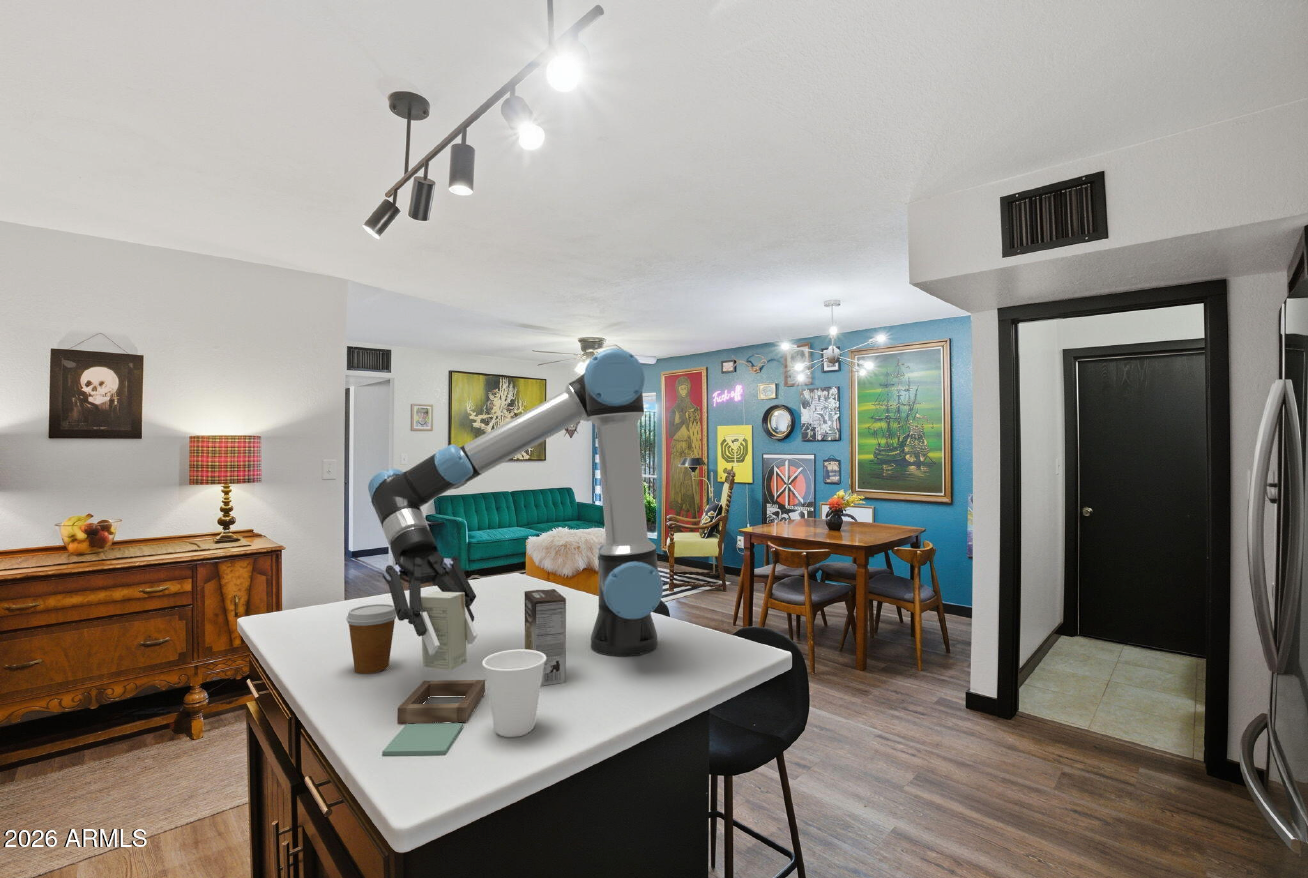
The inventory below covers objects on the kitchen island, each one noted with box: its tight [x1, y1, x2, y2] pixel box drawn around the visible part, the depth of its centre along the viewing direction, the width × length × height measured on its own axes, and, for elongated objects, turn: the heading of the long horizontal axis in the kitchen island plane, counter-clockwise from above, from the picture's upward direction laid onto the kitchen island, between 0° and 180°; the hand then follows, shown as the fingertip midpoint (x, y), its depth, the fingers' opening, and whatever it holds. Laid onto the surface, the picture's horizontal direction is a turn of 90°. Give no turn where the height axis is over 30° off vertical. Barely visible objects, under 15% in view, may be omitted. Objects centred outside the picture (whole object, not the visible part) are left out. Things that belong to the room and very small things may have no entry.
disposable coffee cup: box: [345, 603, 397, 675], centre depth 124 cm, size 10×10×12 cm
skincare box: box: [420, 591, 468, 671], centre depth 105 cm, size 6×4×12 cm
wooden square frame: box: [396, 679, 486, 725], centre depth 104 cm, size 11×12×2 cm
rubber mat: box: [381, 723, 464, 757], centre depth 92 cm, size 9×9×1 cm
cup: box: [481, 648, 546, 738], centre depth 96 cm, size 10×10×11 cm
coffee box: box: [524, 588, 567, 687], centre depth 119 cm, size 9×6×16 cm
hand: (454, 644), depth 102 cm, fingers closed on skincare box, 6 cm apart
